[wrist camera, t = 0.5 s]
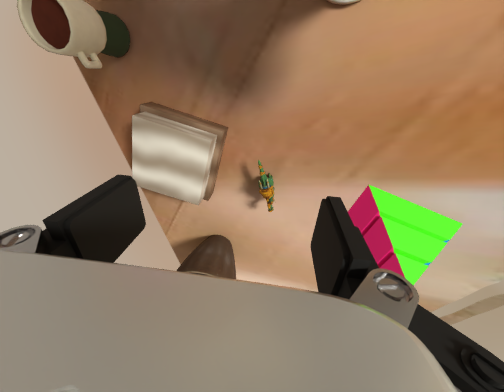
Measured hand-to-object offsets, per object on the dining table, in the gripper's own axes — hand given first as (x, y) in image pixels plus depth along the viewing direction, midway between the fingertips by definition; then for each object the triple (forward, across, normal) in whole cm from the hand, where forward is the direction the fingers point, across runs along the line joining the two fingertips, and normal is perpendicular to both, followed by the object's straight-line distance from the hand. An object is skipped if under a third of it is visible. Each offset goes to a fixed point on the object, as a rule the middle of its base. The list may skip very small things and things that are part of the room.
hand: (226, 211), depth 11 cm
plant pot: (+35, +10, +36) cm, 51 cm away
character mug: (+35, +28, -11) cm, 46 cm away
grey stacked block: (+35, +17, +9) cm, 40 cm away
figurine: (+35, -1, +14) cm, 38 cm away
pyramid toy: (+36, -31, +28) cm, 55 cm away
